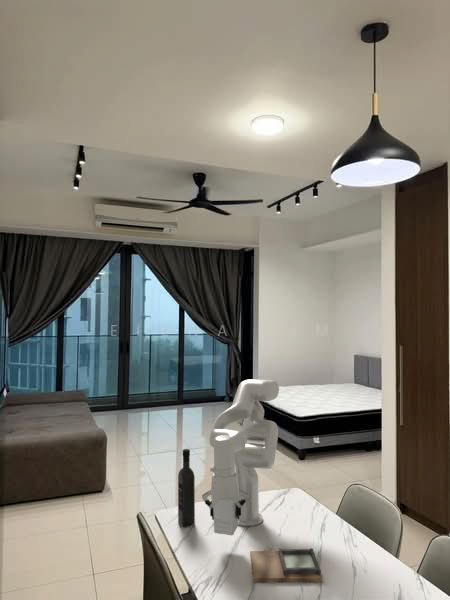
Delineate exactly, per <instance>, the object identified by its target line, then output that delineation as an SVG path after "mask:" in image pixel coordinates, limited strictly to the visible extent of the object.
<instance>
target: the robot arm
mask: <svg viewBox="0 0 450 600" xmlns="http://www.w3.org/2000/svg"><path fill="white" fill-rule="evenodd" d="M279 392H280V387H279V383H278V382H277V381H276V380H274V379H257V378H256V379H255V378H253V379H252V378H251V379H245V380H243V381H241V382H240V383H239V385H238V386H237V390H236V392H235V395H234V398H233V401H232V404H231V407H228V408H227V409H226V410H224V411H223V412H222V413H221V414H219V415H218V416H217V417H216V419H215V420H214V423H213V425H212V427H211V430H210V434H209V438H208V439H209V444H210V446H211V448H213V466H212V467H210V468H209V469H210V470H209V471H210V472H212V476H211V484H210V485H211V487H210V488H211V489H210V490H207V491H206V492H205V493H203V494H202V495H201V498H202V501H203V502H204V504H205V505H206V506H207V507H208V508H209V511H210V512H209V515H210V517H211V520H212V521H214V514H213V504H218V500H219V499H233V504H236V505H237V519H238V526H243V527H254V526H257V525H260V524H261V523H262V521H263V515H262V514H261V513H260V511H259V509H260V505H259V503H260V502H259V501H260V500H259V498H260V497H259V475H258V472H257V470H256V469H261V470H263V469H264V470H269V469H272V468H273V466H274V463H275V459H276V453H277V445H278V437H279V428H278V425H277V423H276V422H275V421H272V420H268V419H267V420H266V419H264V418H265V417H264V416H265V409H264V407H263V405H262V404H261V402H270V401H271V402H272V401H273V400H275V399H277V397H278V395H279ZM240 421H243V422H242V427H241V430H235V429H227V427H228V426H230V425H231V424H235V423H238V422H240ZM255 468H256V469H255ZM208 497H211V498H210V499H211V500H209V499H208Z"/></svg>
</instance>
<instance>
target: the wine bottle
mask: <svg viewBox="0 0 450 600" xmlns="http://www.w3.org/2000/svg"><path fill="white" fill-rule="evenodd" d="M190 455H191V450H190V449H188V448H184V449H182V467H181V469H179V471H178V475H177V504H178V505H177V521H178V522H177V523H178V524H179V525H180V526H181V527H183V528H187V526H188V527H190V526H191V525H192V526H195V525H196V523H195V522H196V515H195V514H196V513H195V511H196V509H195V507H196V506H195V503H196V502H195V501H196V499H195V498H196V497H195V496H196V495H195V493H196V490H195V485H196V483H195V482H196V481H195V479H196V478H195V473H194V472H195V471H193V469H192V468H191V466H190V465H191V464H190V458H191V457H190Z"/></svg>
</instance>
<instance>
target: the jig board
mask: <svg viewBox="0 0 450 600" xmlns="http://www.w3.org/2000/svg"><path fill="white" fill-rule="evenodd" d="M249 558H250V566H251V567H250V568H251V575H252V584H287V583H288V584H294V583H295V584H296V583H297V584H299V583H300V584H301V583H303V584H304V583H306V584H308V583H318V584H319V583H323V577H322V574H321V573H322V569H321V567H320V565H319V562H318V559H317V556H316V554H315V551H314V549H313V548H311V547H310V548H309V549H308V548H305V549H304V548H301V549H298V548H297V549H295V548H293V549H290V548H289V549H288V548H287V549H282V548H278V550H250V551H249Z"/></svg>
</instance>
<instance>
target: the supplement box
mask: <svg viewBox="0 0 450 600" xmlns="http://www.w3.org/2000/svg"><path fill="white" fill-rule="evenodd" d="M213 514H214V520H213V532H214V534H219V535H227V536H234V534H235V532H236V530H237V529H238V526H239V525H238V519H237V505H236V504H233V499H219V500H218V504H213Z"/></svg>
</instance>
